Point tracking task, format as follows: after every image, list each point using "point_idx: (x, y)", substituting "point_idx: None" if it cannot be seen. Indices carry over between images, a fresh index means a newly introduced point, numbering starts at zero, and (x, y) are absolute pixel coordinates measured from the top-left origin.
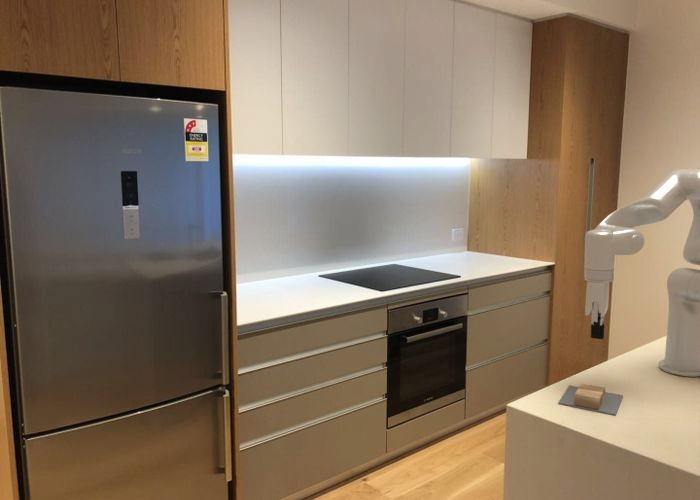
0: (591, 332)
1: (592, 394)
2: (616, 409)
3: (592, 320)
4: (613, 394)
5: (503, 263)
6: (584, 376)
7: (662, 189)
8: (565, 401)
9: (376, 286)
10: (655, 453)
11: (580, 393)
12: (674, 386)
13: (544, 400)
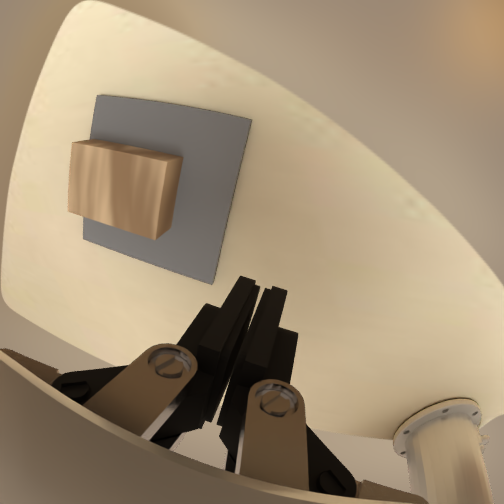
0: (228, 298)
1: (83, 193)
2: (107, 246)
3: (119, 382)
4: (207, 258)
5: None
6: (386, 190)
7: None
8: (107, 113)
9: None
10: (9, 272)
11: (78, 158)
12: (334, 407)
13: (118, 55)
